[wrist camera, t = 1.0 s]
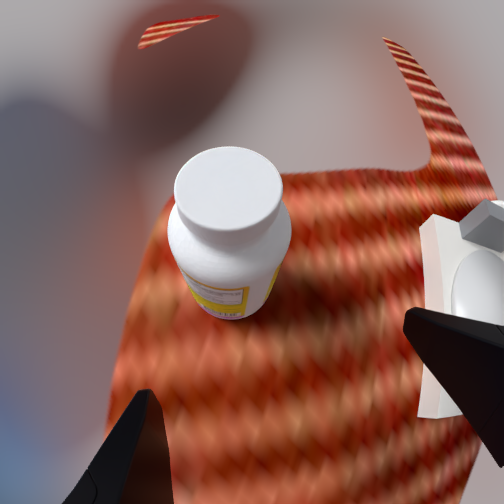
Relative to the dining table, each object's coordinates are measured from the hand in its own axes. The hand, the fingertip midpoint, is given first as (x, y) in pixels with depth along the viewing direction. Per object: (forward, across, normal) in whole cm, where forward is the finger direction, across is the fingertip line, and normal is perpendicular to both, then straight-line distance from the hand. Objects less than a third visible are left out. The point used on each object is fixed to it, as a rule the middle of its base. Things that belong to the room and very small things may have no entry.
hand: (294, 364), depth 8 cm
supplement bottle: (+15, 0, +4) cm, 16 cm away
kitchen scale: (+6, -24, +12) cm, 28 cm away
